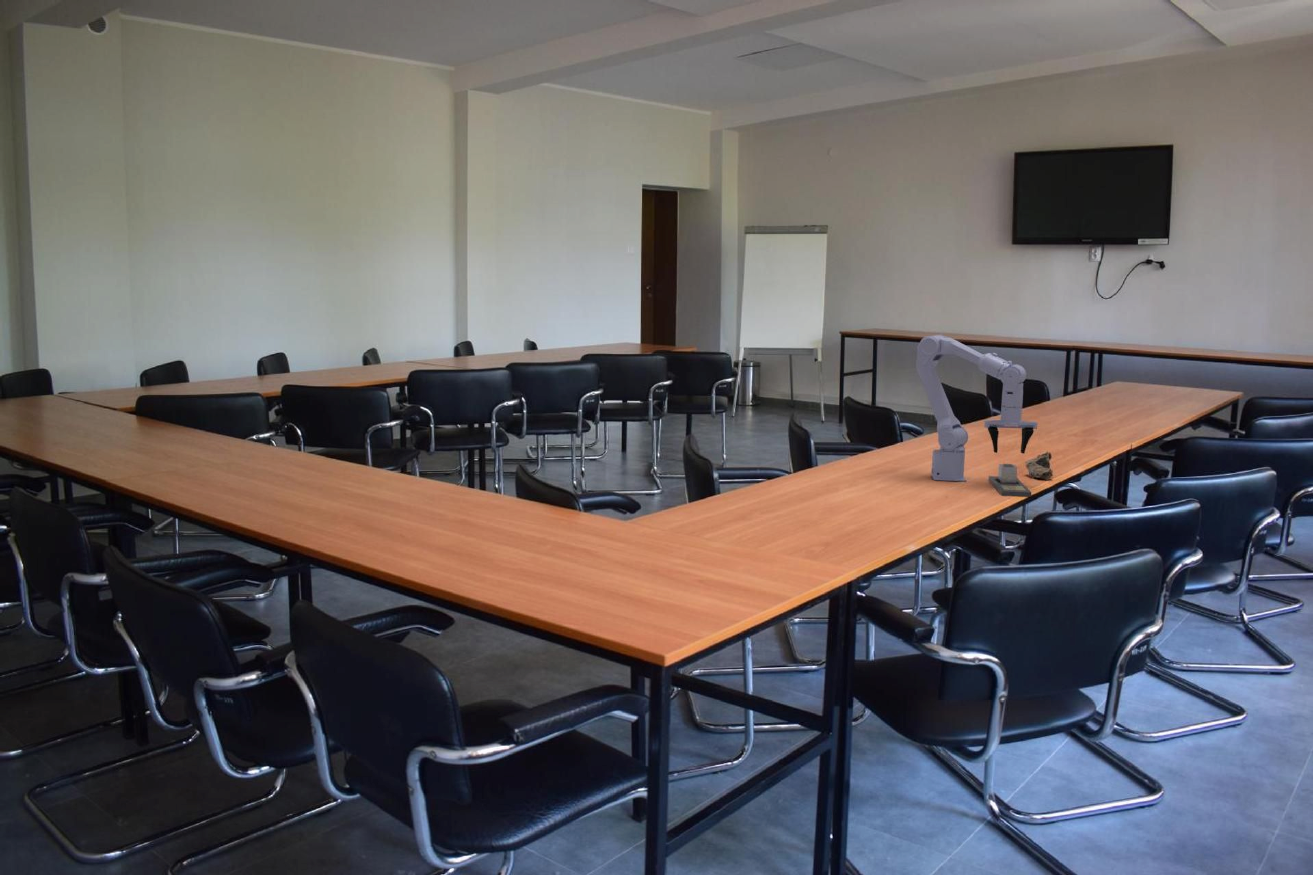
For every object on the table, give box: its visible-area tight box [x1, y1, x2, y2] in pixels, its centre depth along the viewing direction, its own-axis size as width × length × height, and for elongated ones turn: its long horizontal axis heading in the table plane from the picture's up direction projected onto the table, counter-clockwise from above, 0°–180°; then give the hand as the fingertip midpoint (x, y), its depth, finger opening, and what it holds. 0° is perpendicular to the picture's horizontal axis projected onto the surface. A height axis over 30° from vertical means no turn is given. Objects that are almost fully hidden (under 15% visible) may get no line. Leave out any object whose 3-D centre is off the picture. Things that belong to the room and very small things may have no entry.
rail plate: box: [988, 475, 1032, 498], centre depth 302 cm, size 8×22×1 cm, turn 172°
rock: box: [1025, 451, 1054, 481], centre depth 318 cm, size 9×7×10 cm
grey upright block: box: [998, 463, 1018, 484], centre depth 305 cm, size 4×4×6 cm
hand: (1009, 452), depth 304 cm, fingers open, 7 cm apart
